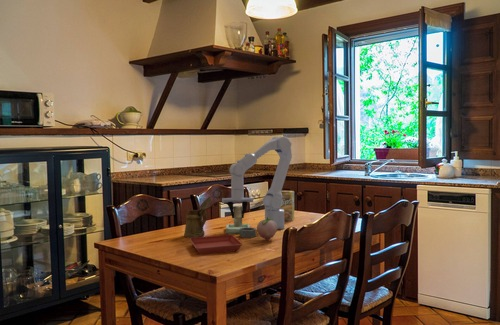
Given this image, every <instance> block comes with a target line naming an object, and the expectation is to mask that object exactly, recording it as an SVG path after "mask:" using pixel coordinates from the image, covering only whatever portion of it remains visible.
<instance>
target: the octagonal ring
mask: <svg viewBox="0 0 500 325" xmlns="http://www.w3.org/2000/svg"><path fill="white" fill-rule="evenodd" d="M239 237H240V238H244V239H246V238H249V239H250V238H254V237H257V227H251V226H250V227H245V228H240V233H239Z"/></svg>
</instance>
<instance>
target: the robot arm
mask: <svg viewBox="0 0 500 325" xmlns="http://www.w3.org/2000/svg"><path fill="white" fill-rule="evenodd" d="M270 151H274V152H276V153H277V155H278V157H279V159H278V163H277V166H276V168H275V169H276V170H275V173H274V176H273V179H272V182H271V185H270V188H269V189H268V190H267V191H266V194H265V195H264V196H263V198H262V204H263V206H264V220H265V219H267V217H268V218H271V219H273V221H274V222H275V223H276V225H277V230H279V229H281V230H284V229H285V221H286V220H284V209H280V207H281V205H282V193H281V191H283V186H284V184H285V181H286V177H287V174H288V170H289V167H290V164H291V161H292V158H293V155H292V154H293V153H292V142H291V141H290V139H289V138H288V137H287V136H274V137H272V138H271V139H269V140H268V141H266V142H265V143H264V144H263V145H261V147H259V148H258V149H257V150H255V151H254V152H253V153H251V152H250V153H249V152H248V153H245V154H244V156H243V157H242V158H240V159H237V160H236V163H232V164H231V165H230V167H229V169H228V172H229V173H230V175H231V176H230V178H231V179H230V181H231V182H230V184H231V187H230V189H231V190H230V191H231V194H230V195H231V197H226V198H225V197H222V199H221V203H222V204H224V203H227V206H228V208H229V210H230V213H231V214H230V215H231V219H234V204H235V203H241V205H242V206H241V207H242V219H244V218H245V212H246V209H247V207H248V204H249V203H254V197H245V193H244V191H245V190H244V188H245V187H244V175H245V173H246V171H247V170H249V169H251V167H252V166H254V165H255V164H257V161H258V159H260V158H262V157H263V156H265V154H266V153H268V152H270Z"/></svg>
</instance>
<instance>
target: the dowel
mask: <svg viewBox="0 0 500 325" xmlns="http://www.w3.org/2000/svg"><path fill="white" fill-rule="evenodd" d="M233 213H234V218H233V224H234V227H241V226H242V224H243V218H242V206H240V205H236V206H233Z"/></svg>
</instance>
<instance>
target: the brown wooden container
mask: <svg viewBox="0 0 500 325" xmlns="http://www.w3.org/2000/svg"><path fill="white" fill-rule="evenodd" d="M211 202H212V198H211V196H208V197H207V198H206V199H205V200H203V202H202V203H201V205H200V207H199V208H200V209H191V210H190V209H189V210H187V211H186V214H185V219H186V220H185V228H184V234H183V237H184V238H189V239H190V238H196V237H205V234H206V233H205V230H204V226H205V225H206V222H207V218H208V216H207V215H208V214H207V211H206V209H207V208H208V207H209V205H210V204H211Z"/></svg>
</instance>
